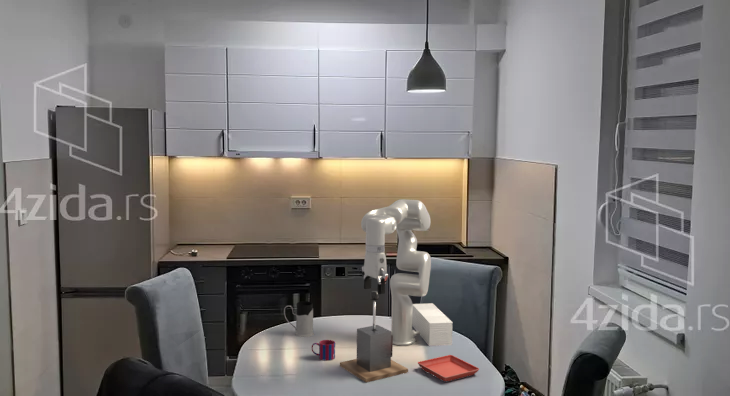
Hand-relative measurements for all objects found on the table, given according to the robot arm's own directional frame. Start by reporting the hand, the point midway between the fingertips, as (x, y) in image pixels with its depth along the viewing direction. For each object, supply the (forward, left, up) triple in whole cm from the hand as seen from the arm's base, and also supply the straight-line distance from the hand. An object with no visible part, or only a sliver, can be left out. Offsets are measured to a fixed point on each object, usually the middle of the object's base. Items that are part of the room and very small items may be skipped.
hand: (374, 291), depth 250 cm
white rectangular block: (-49, -23, -33) cm, 63 cm away
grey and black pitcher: (+6, -55, -33) cm, 64 cm away
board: (0, 0, -32) cm, 32 cm away
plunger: (0, 0, -21) cm, 21 cm away
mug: (+11, -22, -33) cm, 41 cm away
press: (-2, 0, -31) cm, 31 cm away
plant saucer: (-24, +18, -33) cm, 45 cm away
